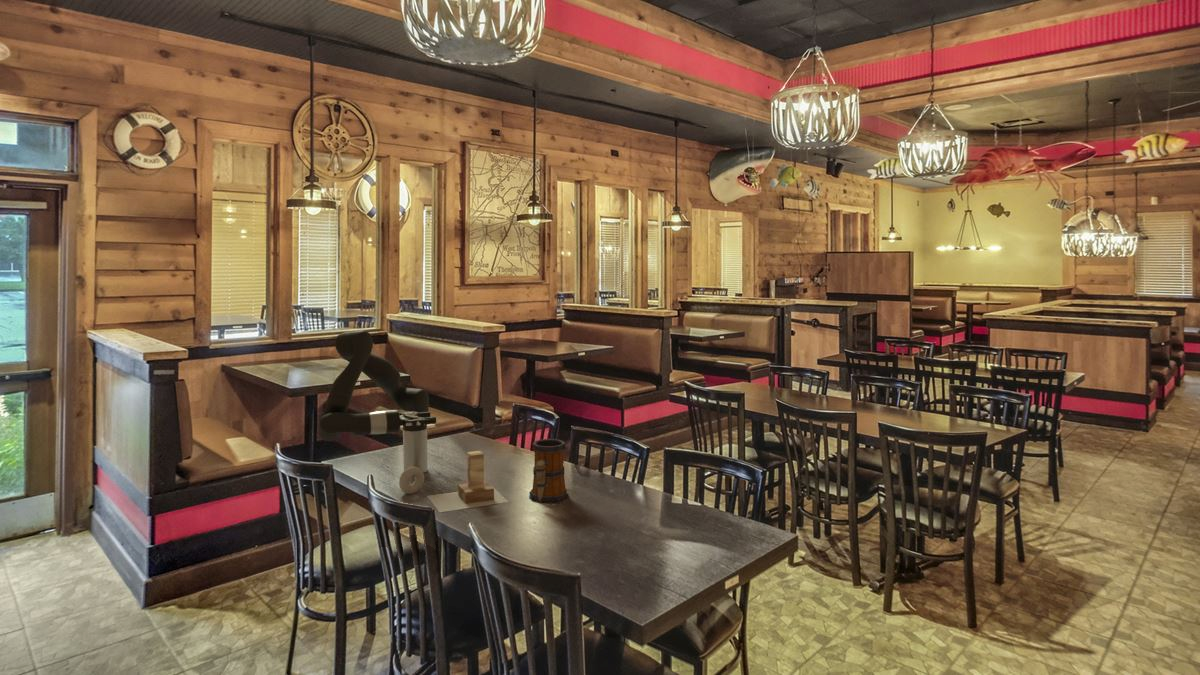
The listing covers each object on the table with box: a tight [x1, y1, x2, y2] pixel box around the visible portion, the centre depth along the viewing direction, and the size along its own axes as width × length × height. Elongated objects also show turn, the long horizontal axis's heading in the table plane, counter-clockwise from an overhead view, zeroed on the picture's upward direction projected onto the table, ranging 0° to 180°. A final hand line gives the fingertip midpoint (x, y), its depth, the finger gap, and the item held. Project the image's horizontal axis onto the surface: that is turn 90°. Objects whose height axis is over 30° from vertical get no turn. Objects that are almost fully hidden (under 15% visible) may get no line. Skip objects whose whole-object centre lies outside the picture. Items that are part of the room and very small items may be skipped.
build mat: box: [426, 487, 510, 513], centre depth 240 cm, size 18×24×1 cm
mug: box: [528, 438, 570, 505], centre depth 240 cm, size 19×14×20 cm
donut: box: [398, 466, 425, 495], centre depth 246 cm, size 10×4×10 cm, turn 142°
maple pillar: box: [466, 450, 485, 489], centre depth 241 cm, size 4×4×12 cm
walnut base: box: [457, 480, 495, 504], centre depth 242 cm, size 10×10×4 cm
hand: (432, 417), depth 234 cm, fingers open, 8 cm apart
